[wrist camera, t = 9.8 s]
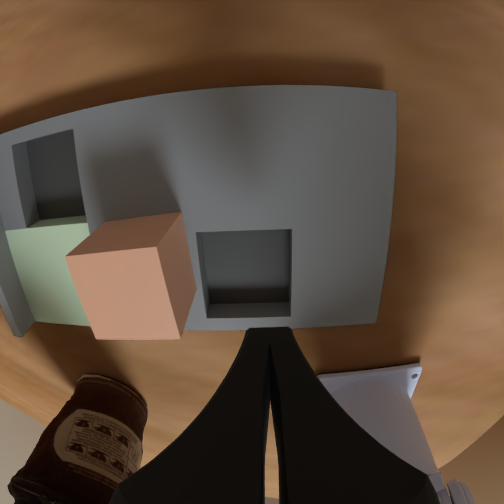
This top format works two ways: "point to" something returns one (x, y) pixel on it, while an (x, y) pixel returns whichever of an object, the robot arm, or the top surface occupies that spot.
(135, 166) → the board
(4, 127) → the top surface
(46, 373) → the top surface
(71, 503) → the coffee cup
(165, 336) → the block
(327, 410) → the robot arm
